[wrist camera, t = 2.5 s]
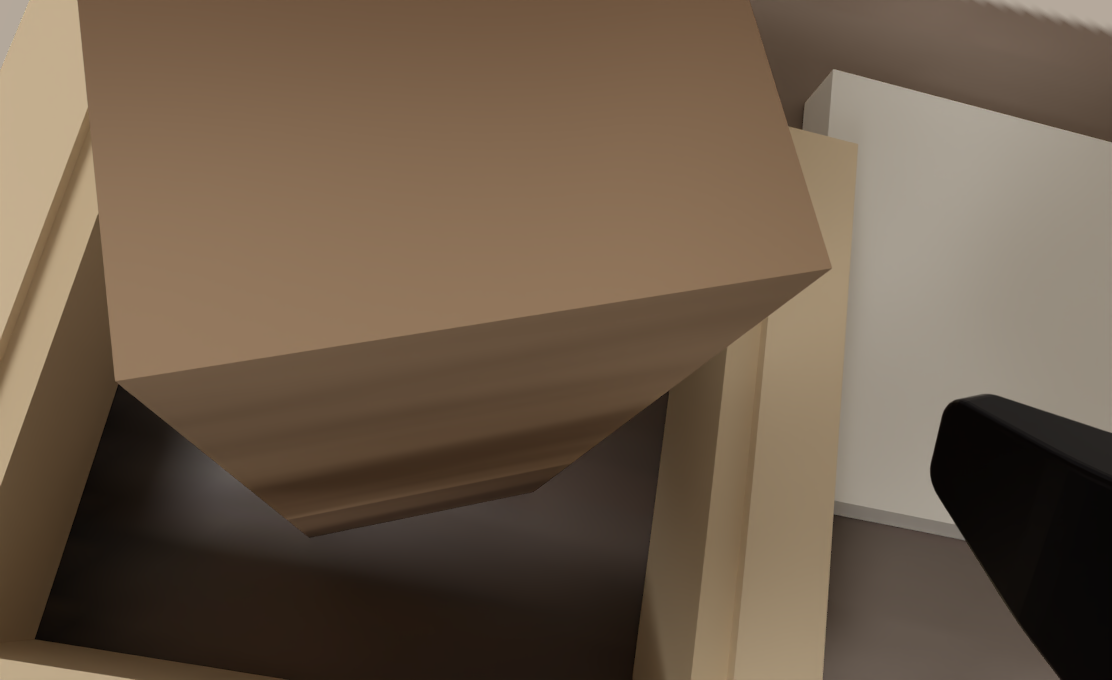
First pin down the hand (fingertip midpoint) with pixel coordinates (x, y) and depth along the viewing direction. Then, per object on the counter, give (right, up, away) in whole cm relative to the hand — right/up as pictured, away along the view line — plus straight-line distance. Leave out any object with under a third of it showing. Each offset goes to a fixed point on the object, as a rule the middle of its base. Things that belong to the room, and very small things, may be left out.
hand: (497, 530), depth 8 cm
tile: (+13, +1, +14) cm, 19 cm away
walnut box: (-3, 0, +11) cm, 11 cm away
